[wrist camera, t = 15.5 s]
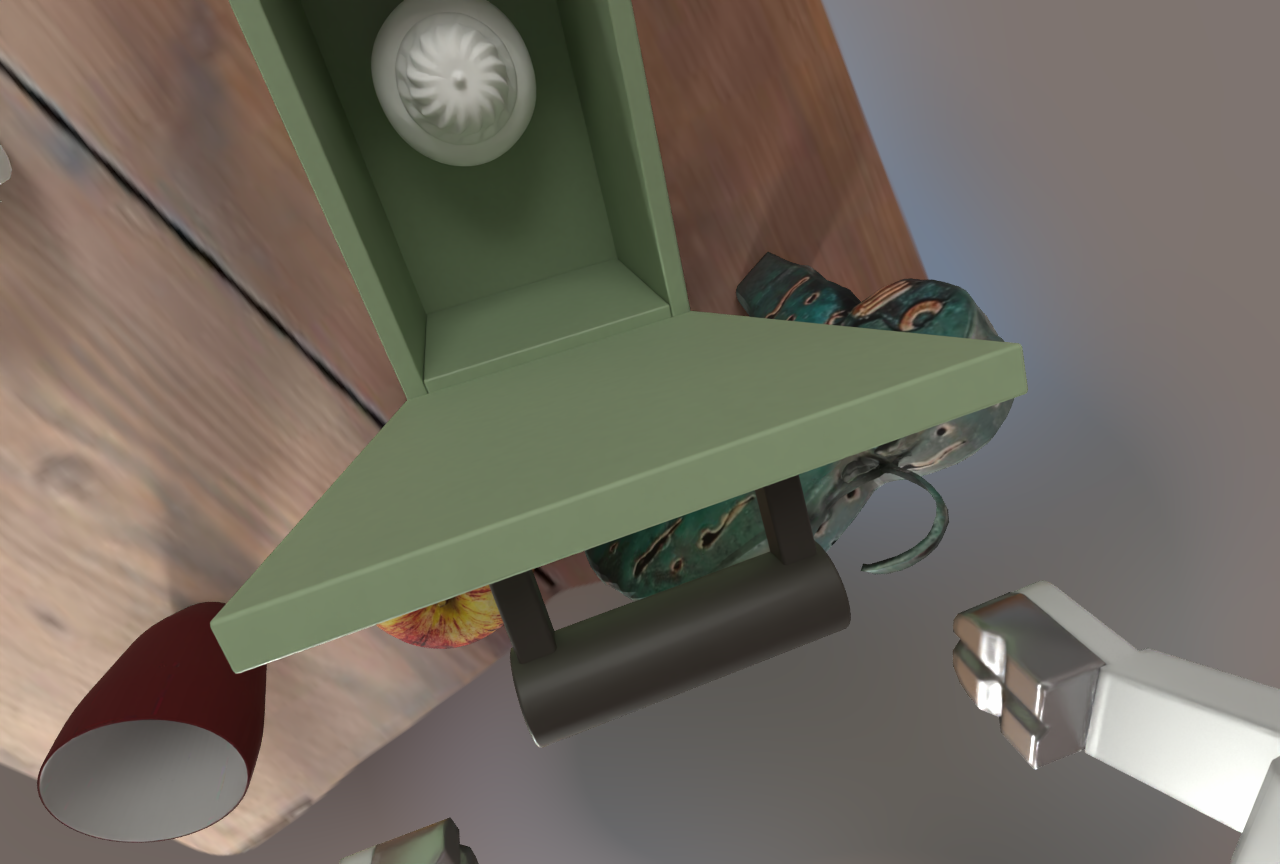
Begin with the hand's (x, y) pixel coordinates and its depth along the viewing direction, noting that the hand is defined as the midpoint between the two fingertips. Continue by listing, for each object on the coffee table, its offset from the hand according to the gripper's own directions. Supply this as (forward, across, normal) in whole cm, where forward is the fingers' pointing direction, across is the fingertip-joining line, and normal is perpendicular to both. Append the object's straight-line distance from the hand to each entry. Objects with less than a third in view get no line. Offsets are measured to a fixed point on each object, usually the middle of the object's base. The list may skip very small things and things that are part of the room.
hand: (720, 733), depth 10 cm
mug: (+28, +24, +14) cm, 40 cm away
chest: (+28, 0, -8) cm, 29 cm away
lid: (+9, 0, -2) cm, 10 cm away
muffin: (+27, 0, -10) cm, 29 cm away
